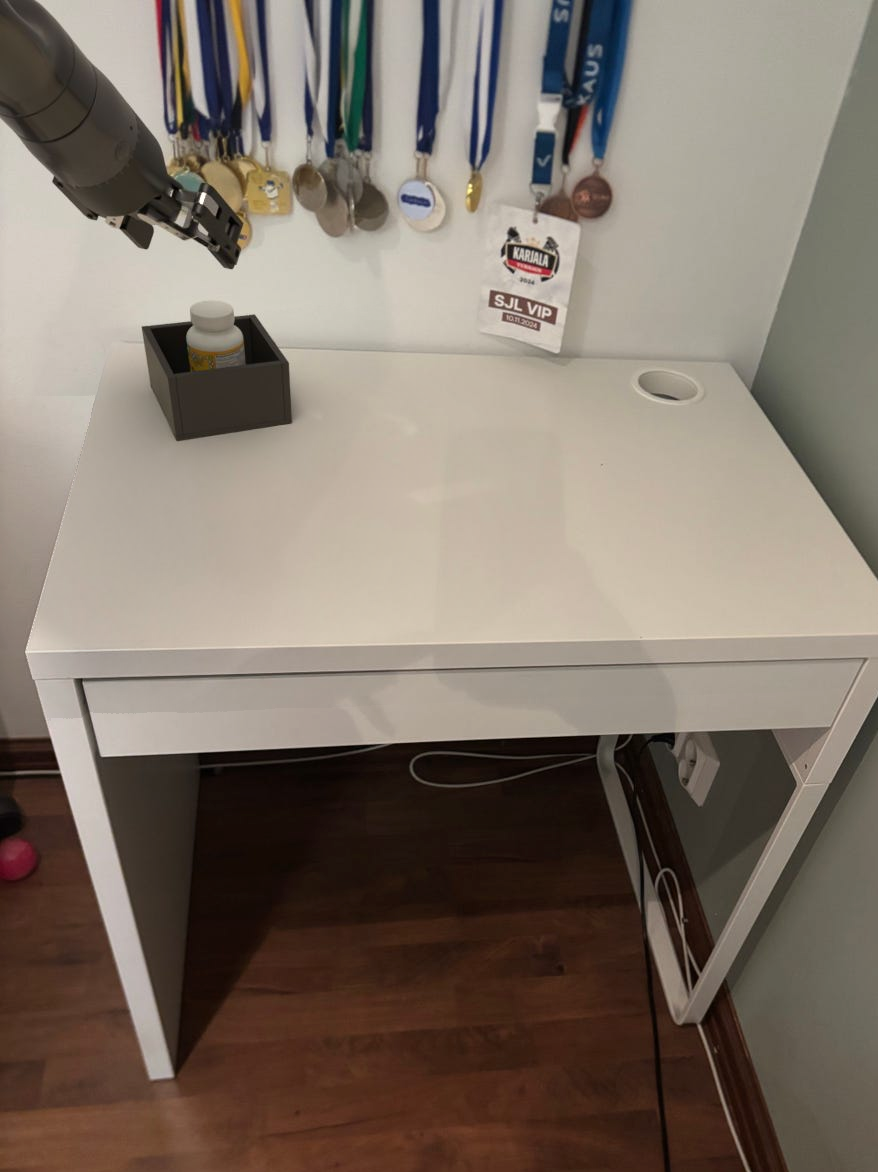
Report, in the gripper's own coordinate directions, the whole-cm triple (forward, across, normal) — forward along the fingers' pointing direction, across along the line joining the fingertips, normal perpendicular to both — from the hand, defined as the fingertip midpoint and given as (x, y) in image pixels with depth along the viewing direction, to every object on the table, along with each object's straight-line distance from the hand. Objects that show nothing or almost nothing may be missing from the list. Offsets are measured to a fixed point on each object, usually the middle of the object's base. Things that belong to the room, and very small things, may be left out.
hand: (189, 249), depth 85 cm
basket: (+13, 0, +10) cm, 16 cm away
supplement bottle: (+13, 0, +10) cm, 16 cm away
